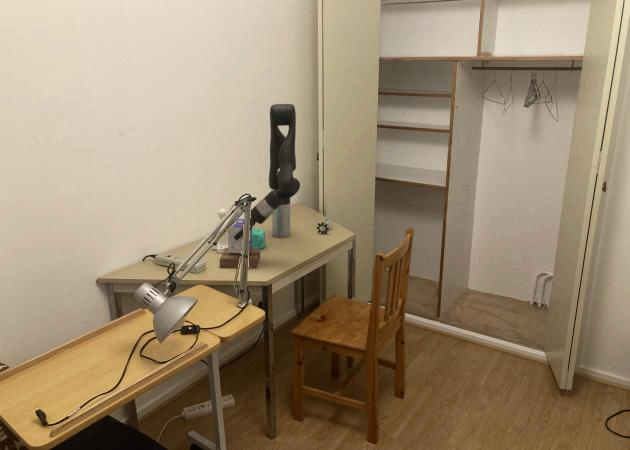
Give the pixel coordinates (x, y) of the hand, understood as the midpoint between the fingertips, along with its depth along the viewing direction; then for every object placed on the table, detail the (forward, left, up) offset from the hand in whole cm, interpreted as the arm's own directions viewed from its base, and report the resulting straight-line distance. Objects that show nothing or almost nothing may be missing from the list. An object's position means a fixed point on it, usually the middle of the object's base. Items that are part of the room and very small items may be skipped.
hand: (236, 236), depth 234 cm
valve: (-46, +40, -12) cm, 63 cm away
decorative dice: (-20, +6, -12) cm, 25 cm away
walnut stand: (0, +2, -12) cm, 12 cm away
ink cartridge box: (0, +2, -7) cm, 7 cm away
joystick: (-14, -9, -12) cm, 21 cm away
